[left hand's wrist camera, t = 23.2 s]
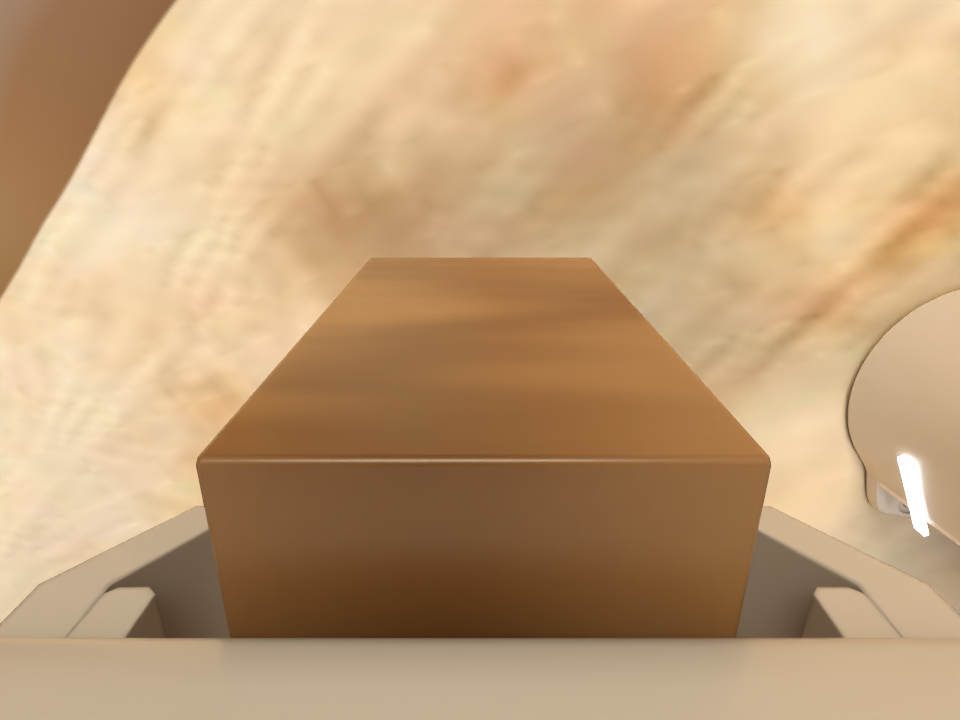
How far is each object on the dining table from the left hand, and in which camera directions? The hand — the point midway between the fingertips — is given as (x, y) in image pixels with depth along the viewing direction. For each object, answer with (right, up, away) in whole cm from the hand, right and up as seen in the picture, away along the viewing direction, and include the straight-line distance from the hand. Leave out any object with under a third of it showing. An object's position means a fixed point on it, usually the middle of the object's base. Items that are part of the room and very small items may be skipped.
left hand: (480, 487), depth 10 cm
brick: (0, +2, +4) cm, 4 cm away
